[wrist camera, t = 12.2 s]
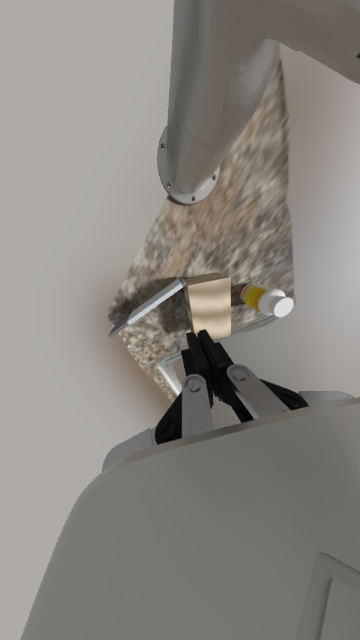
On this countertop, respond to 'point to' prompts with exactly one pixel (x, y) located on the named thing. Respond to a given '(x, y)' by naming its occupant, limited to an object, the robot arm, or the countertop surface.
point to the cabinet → (209, 304)
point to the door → (148, 305)
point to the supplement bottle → (266, 299)
